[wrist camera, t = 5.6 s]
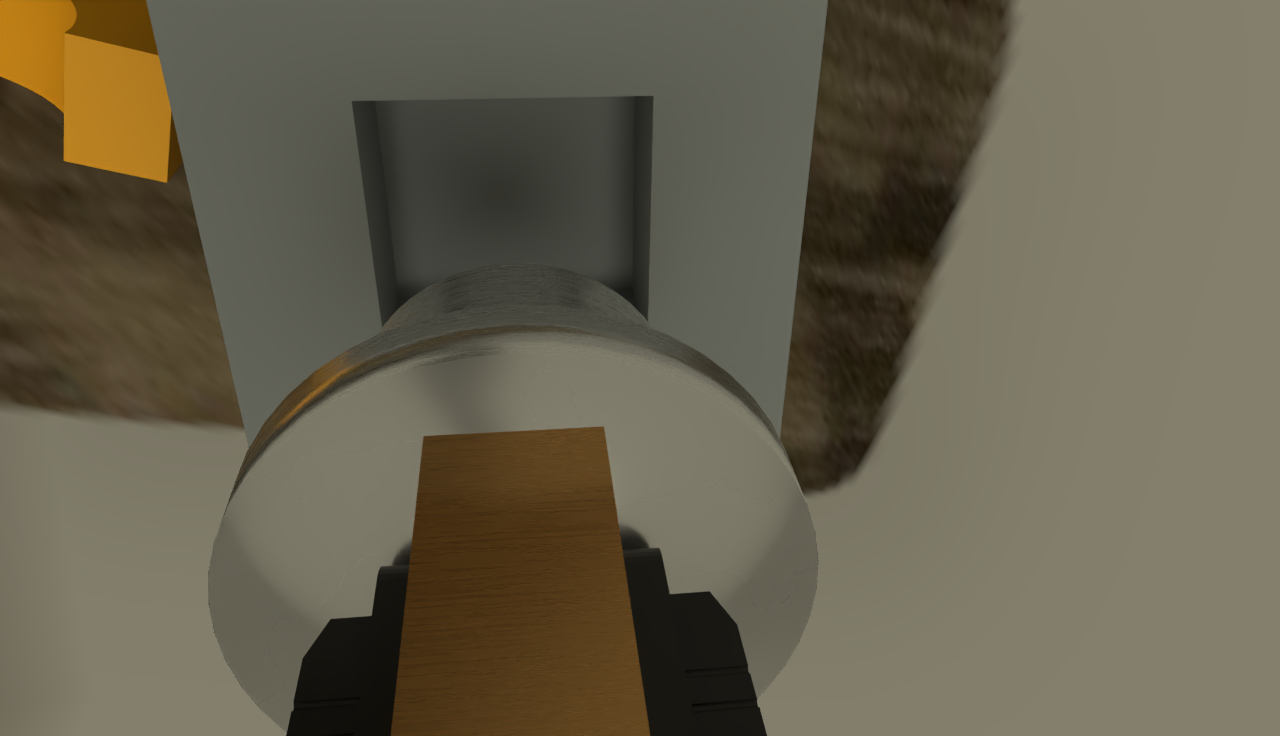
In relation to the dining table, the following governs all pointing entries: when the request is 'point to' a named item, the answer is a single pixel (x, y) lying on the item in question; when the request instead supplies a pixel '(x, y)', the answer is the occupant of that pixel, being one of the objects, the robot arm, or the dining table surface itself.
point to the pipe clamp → (95, 80)
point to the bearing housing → (493, 164)
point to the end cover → (510, 508)
